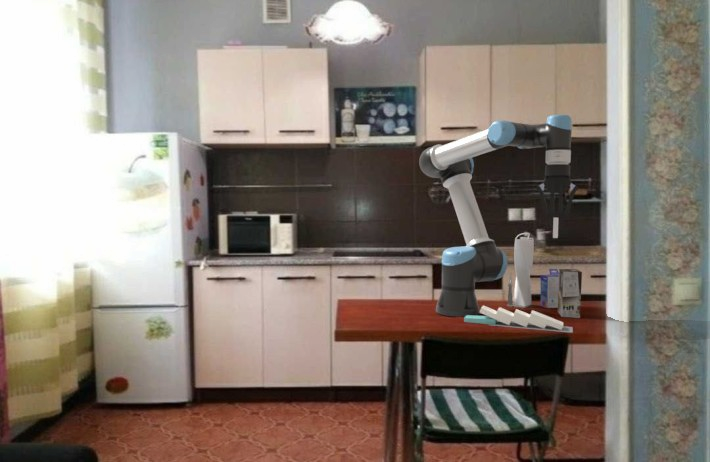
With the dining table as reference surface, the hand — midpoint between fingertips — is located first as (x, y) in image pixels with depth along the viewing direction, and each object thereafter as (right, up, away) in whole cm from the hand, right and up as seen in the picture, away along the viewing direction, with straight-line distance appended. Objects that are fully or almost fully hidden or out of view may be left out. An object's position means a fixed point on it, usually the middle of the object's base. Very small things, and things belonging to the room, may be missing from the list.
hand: (555, 237), depth 177 cm
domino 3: (-5, -27, -4) cm, 28 cm away
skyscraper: (0, -27, +35) cm, 44 cm away
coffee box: (+11, -28, +17) cm, 35 cm away
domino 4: (0, -28, -6) cm, 28 cm away
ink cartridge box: (+12, -27, +33) cm, 44 cm away
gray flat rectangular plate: (-9, -28, -3) cm, 30 cm away
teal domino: (-19, -27, +1) cm, 33 cm away
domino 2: (-10, -27, -2) cm, 29 cm away
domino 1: (-15, -27, -1) cm, 31 cm away
